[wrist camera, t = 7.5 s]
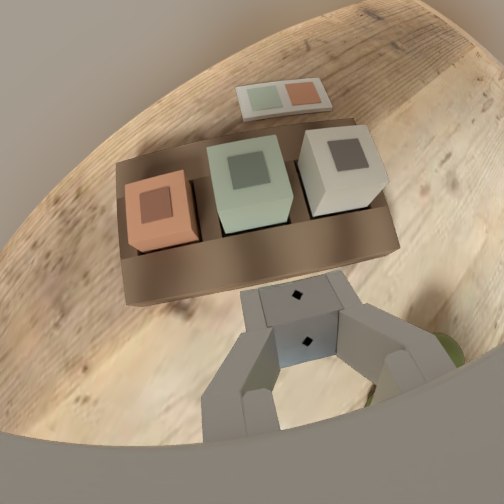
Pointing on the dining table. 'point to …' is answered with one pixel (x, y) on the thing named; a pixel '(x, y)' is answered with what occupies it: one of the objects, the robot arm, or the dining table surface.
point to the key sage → (250, 183)
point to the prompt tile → (282, 98)
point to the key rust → (162, 213)
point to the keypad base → (246, 241)
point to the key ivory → (340, 169)
